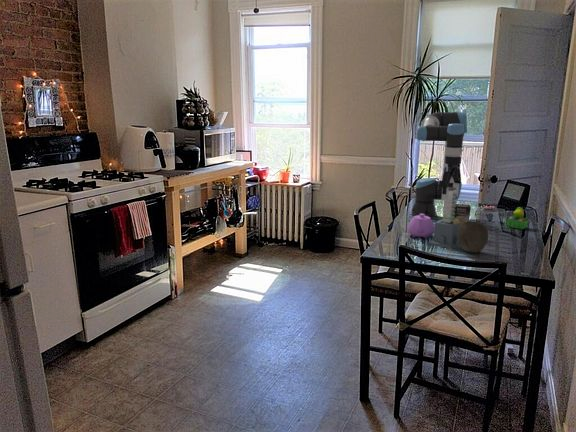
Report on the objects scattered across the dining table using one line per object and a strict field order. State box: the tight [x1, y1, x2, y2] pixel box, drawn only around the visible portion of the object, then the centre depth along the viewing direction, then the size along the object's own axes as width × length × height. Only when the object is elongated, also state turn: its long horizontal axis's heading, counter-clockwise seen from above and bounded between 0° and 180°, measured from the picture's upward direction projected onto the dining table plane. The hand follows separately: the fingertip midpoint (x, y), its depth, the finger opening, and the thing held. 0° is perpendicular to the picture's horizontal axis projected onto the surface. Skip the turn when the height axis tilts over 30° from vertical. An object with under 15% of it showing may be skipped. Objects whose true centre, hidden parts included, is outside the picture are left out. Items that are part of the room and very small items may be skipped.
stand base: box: [427, 218, 460, 250], centre depth 234 cm, size 12×16×13 cm
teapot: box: [407, 214, 435, 239], centre depth 245 cm, size 20×14×12 cm
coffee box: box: [453, 203, 472, 226], centre depth 249 cm, size 9×6×16 cm
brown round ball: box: [458, 220, 489, 254], centre depth 220 cm, size 14×14×15 cm
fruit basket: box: [504, 206, 530, 230], centre depth 262 cm, size 11×9×11 cm
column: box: [442, 187, 457, 224], centre depth 231 cm, size 5×4×21 cm
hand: (449, 198), depth 230 cm, fingers open, 13 cm apart
